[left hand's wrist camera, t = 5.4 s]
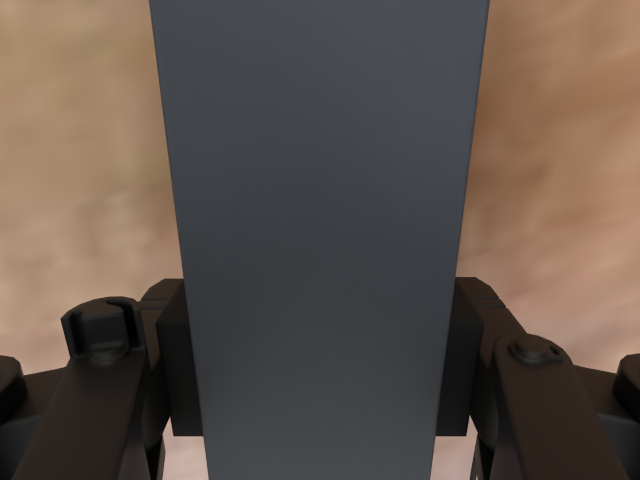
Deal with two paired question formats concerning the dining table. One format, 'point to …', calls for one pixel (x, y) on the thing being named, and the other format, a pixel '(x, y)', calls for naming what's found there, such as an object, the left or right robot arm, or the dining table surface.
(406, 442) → the bar
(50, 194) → the dining table surface
